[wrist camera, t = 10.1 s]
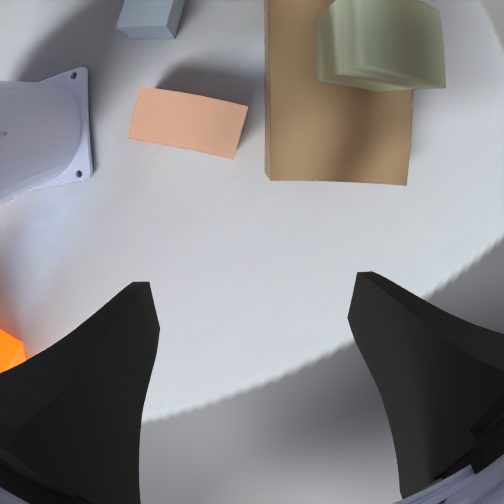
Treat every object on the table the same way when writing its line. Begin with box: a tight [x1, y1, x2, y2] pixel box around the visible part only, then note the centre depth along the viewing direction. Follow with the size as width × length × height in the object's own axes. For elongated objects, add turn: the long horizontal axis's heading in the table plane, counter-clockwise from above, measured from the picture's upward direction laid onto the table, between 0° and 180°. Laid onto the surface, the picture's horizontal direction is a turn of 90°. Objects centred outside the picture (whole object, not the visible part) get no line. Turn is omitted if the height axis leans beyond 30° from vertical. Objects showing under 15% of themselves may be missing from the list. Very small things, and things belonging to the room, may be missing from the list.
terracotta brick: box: [128, 87, 248, 160], centre depth 15 cm, size 6×3×3 cm, turn 74°
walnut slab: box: [264, 0, 413, 186], centre depth 14 cm, size 9×15×2 cm, turn 0°
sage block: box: [315, 0, 446, 92], centre depth 10 cm, size 4×4×6 cm
